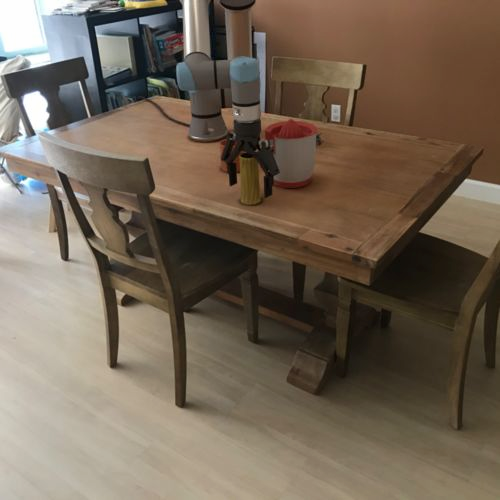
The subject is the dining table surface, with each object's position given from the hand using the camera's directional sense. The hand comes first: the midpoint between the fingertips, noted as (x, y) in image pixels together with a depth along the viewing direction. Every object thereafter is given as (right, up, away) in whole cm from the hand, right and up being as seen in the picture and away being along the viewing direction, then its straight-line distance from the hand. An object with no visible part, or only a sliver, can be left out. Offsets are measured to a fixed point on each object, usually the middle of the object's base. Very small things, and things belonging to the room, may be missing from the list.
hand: (250, 190), depth 150 cm
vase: (0, -3, +2) cm, 3 cm away
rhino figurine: (+22, +21, +39) cm, 50 cm away
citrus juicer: (+12, +4, +12) cm, 17 cm away
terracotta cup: (-6, +10, +23) cm, 26 cm away
